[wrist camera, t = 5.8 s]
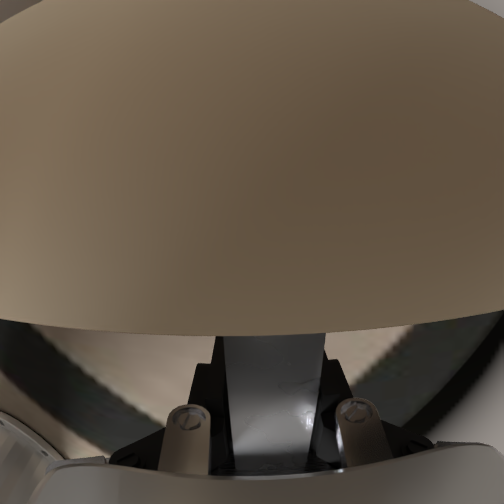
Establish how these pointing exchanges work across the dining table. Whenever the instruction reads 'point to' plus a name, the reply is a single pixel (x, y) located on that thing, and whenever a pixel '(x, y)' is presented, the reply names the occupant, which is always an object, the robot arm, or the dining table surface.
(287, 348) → the shaft
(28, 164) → the bracket
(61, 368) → the dining table surface
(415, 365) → the dining table surface
